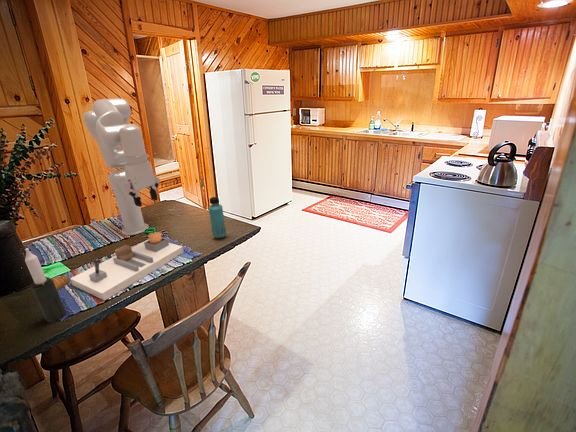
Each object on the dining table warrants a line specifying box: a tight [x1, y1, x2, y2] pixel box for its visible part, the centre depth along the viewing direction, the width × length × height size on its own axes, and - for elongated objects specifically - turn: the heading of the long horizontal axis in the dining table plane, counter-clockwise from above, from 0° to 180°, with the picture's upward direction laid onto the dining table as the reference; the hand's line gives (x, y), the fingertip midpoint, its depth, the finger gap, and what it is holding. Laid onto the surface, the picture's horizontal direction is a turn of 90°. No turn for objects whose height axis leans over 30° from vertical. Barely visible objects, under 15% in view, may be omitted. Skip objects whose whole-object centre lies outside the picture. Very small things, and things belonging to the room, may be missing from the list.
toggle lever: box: [93, 258, 101, 274], centre depth 110 cm, size 2×2×7 cm
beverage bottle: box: [208, 196, 227, 239], centre depth 142 cm, size 6×7×20 cm
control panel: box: [69, 237, 184, 302], centre depth 123 cm, size 20×36×6 cm, turn 151°
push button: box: [147, 231, 163, 245], centre depth 132 cm, size 5×5×4 cm
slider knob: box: [114, 244, 134, 261], centre depth 123 cm, size 3×5×5 cm, turn 151°
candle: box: [24, 247, 67, 324], centre depth 94 cm, size 5×5×25 cm
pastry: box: [49, 275, 71, 291], centre depth 114 cm, size 9×7×4 cm
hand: (146, 202), depth 125 cm, fingers open, 6 cm apart
